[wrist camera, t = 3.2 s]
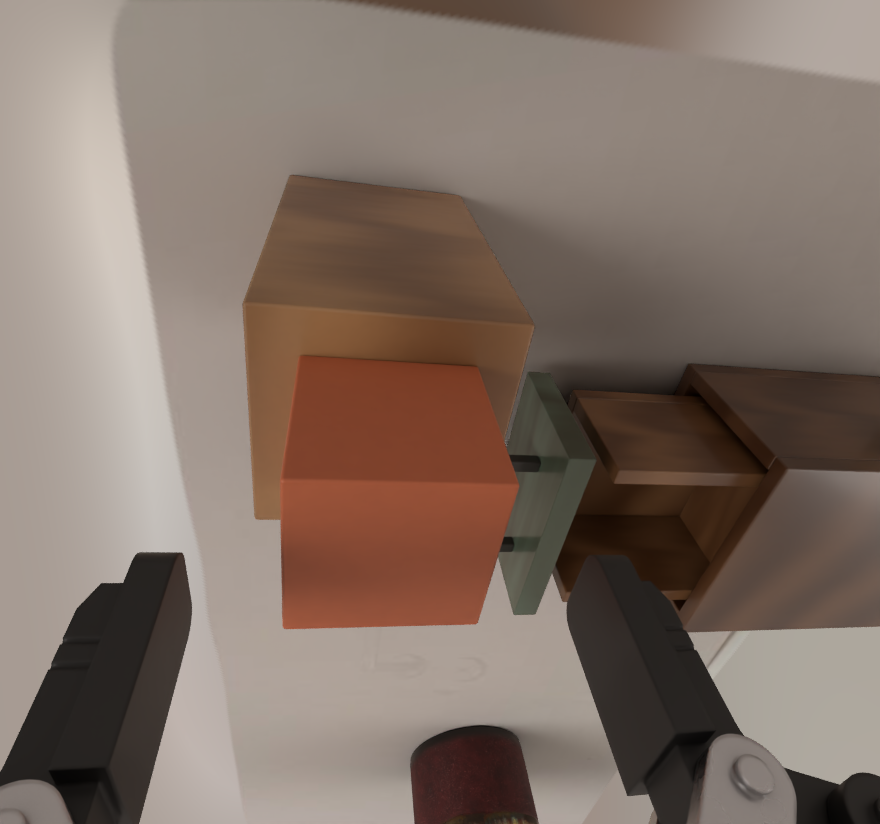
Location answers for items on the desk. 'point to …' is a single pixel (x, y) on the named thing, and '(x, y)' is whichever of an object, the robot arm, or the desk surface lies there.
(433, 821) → the vase
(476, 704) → the desk surface
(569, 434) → the drawer
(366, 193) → the stand
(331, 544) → the block
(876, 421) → the cabinet
